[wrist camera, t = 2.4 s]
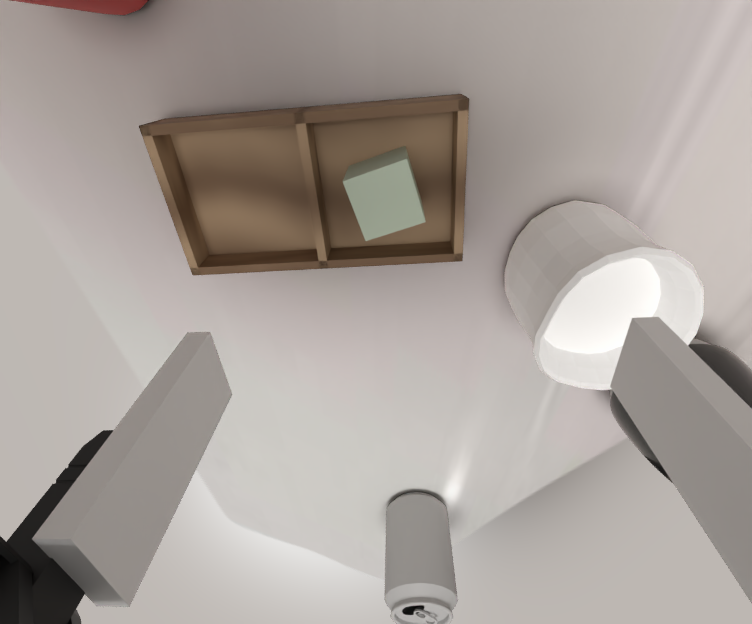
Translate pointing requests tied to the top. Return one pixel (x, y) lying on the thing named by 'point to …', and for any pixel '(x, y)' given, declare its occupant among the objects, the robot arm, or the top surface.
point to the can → (419, 561)
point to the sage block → (384, 194)
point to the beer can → (94, 5)
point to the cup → (594, 290)
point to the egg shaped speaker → (721, 361)
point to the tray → (308, 183)
